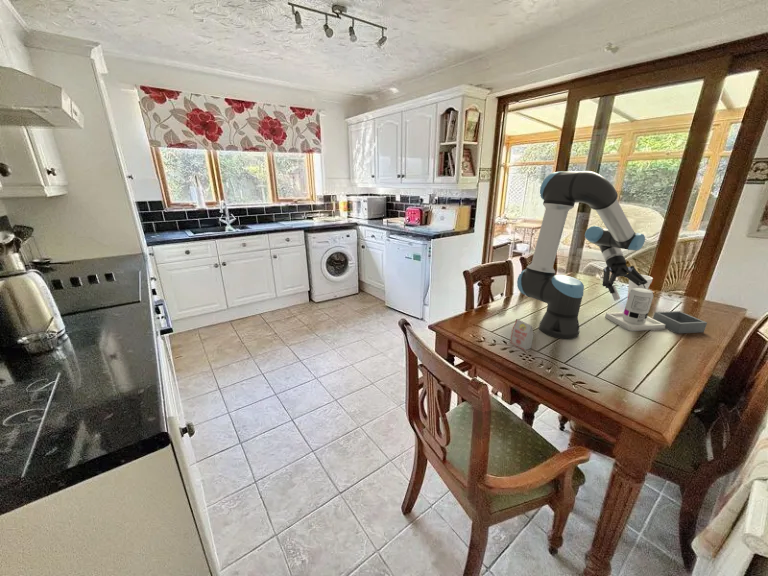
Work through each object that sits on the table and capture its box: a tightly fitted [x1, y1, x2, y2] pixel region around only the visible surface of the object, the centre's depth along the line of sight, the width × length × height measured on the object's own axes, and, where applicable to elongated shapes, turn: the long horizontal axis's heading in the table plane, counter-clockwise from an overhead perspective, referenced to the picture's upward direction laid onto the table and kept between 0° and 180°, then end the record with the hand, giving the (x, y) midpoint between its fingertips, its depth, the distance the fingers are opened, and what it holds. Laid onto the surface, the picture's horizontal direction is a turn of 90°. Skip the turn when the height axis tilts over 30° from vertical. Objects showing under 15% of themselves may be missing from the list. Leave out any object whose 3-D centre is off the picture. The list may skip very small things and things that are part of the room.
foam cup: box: [626, 273, 654, 299], centre depth 165 cm, size 10×9×13 cm
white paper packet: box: [509, 318, 534, 351], centre depth 121 cm, size 4×7×10 cm, turn 29°
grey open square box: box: [652, 310, 708, 334], centre depth 136 cm, size 12×12×4 cm
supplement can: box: [623, 287, 654, 325], centre depth 138 cm, size 8×8×15 cm
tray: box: [604, 311, 665, 332], centre depth 140 cm, size 16×14×2 cm
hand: (631, 299), depth 141 cm, fingers open, 13 cm apart
